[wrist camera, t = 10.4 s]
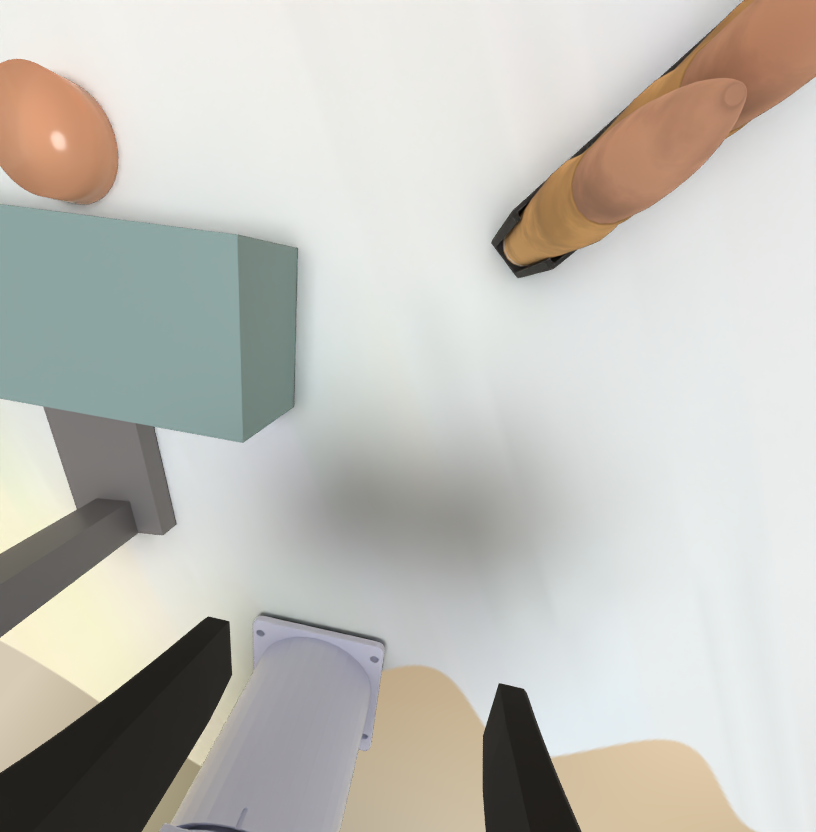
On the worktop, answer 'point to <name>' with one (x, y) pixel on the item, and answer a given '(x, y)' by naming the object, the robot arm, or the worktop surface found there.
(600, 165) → the ammunition clip
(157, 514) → the scraper
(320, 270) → the worktop surface
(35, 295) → the grey-green bridge-shaped bar
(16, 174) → the orange rounded disc
